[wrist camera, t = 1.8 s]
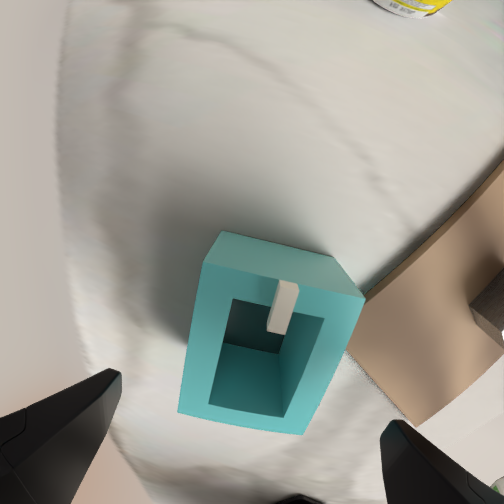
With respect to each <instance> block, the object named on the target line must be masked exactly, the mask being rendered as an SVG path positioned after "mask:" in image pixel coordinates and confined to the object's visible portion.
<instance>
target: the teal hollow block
mask: <svg viewBox="0 0 504 504" xmlns="http://www.w3.org/2000/svg"><path fill="white" fill-rule="evenodd" d="M233 298H234V299H238V300H242V301H247V302H251V303H255V304H260V305H264V306H269V307H271V310H270V313H269V317H268V320H267V331H269V332H273V333H278V334H283V335H285V337H284V340H283V342H282V345H281V348H280V351H279V354H275V353H270V352H265V351H260V350H255V349H250V348H245V347H241V346H236V345H232V344H227V343H223V338H224V334H225V329H226V325H227V321H228V317H229V313H230V308H231V304H232V300H233ZM365 300H366V298H365V297H364V296H363V294H362V293H361V292H360V290H359V289H358V288H357V287H356V285H355V284H354V283H353V281H352V280H351V279H350V277H349V276H348V275H347V273H346V272H345V271H344V270H343V268H342V267H341V266H340V264H339V263H338V262H337V261H336V259H335V258H334V257H330V256H326V255H322V254H318V253H314V252H309V251H305V250H301V249H297V248H293V247H289V246H285V245H281V244H277V243H273V242H269V241H264V240H260V239H256V238H252V237H248V236H244V235H239V234H235V233H231V232H227V231H223V230H222V231H221V232H220V234H219V236H218V237H217V239H216V241H215V242H214V244H213V246H212V247H211V249H210V251H209V252H208V254H207V256H206V257H205V259H204V261H203V264H202V269H201V274H200V279H199V284H198V289H197V295H196V300H195V306H194V311H193V317H192V322H191V328H190V334H189V340H188V346H187V352H186V358H185V364H184V371H183V377H182V384H181V390H180V397H179V404H178V411H177V412H178V413H182V414H185V415H189V416H193V417H198V418H202V419H206V420H211V421H215V422H220V423H225V424H230V425H235V426H240V427H246V428H252V429H258V430H265V431H272V432H279V433H287V434H296V435H303V434H304V432H305V430H306V428H307V426H308V424H309V423H310V421H311V419H312V417H313V415H314V413H315V411H316V409H317V407H318V405H319V403H320V402H321V400H322V398H323V396H324V394H325V392H326V389H327V387H328V385H329V383H330V381H331V379H332V377H333V375H334V373H335V371H336V369H337V366H338V364H339V362H340V360H341V358H342V355H343V353H344V351H345V349H346V346H347V344H348V342H349V339H350V337H351V335H352V332H353V330H354V327H355V325H356V323H357V320H358V318H359V315H360V313H361V310H362V307H363V305H364V302H365ZM291 315H292V316H291ZM290 318H291V319H290ZM289 321H290V322H289ZM288 324H289V325H288ZM287 327H288V328H287ZM286 330H287V331H286ZM285 333H286V334H285Z"/></svg>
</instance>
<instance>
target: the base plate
mask: <svg viewBox="0 0 504 504" xmlns="http://www.w3.org/2000/svg"><path fill="white" fill-rule="evenodd" d="M503 267H504V160H503V161H502V162H501V163H500V164H499V166H498V167H497V168H496V169H495V170H494V171H493V172H492V174H491V175H490V176H489V177H488V178H487V179H486V180H485V181H484V182H483V184H482V185H481V186H480V187H479V188H478V189H477V190H476V191H475V192H474V193H473V194H472V195H471V196H470V198H469V199H468V200H467V201H466V202H465V203H464V204H463V205H462V206H461V207H460V208H459V209H458V210H457V211H456V212H455V213H454V214H453V215H452V216H451V217H450V218H449V219H448V220H447V221H446V222H445V223H444V224H443V225H442V226H441V227H440V228H439V229H438V230H437V231H436V232H435V233H434V234H433V235H432V236H430V237H429V238H428V239H427V240H426V241H425V242H424V243H423V244H422V245H421V246H420V247H419V248H418V249H417V250H415V251H414V252H413V253H412V254H411V255H410V256H409V257H408V258H407V259H406V260H404V261H403V262H402V263H401V264H400V265H399V266H398V267H396V268H395V269H394V270H393V271H392V272H391V273H390V274H388V275H387V276H386V277H385V278H384V279H383V280H381V281H380V282H379V283H378V284H377V285H375V286H374V287H373V288H372V289H371V290H369V291H368V292H367V293H366V294H365V295H363V296H364V297H365V298H366V300H365V302H364V305H363V307H362V310H361V313H360V315H359V318H358V320H357V323H356V325H355V327H354V330H353V332H352V335H351V337H350V339H349V342H348V344H347V346H346V350H347V351H348V352H349V353H350V355H351V356H352V357H353V358H354V359H355V360H356V361H357V362H358V363H359V365H360V366H361V367H362V368H363V369H364V370H365V371H366V372H367V374H368V375H369V376H370V377H371V378H372V379H373V380H374V381H375V382H376V384H377V385H378V386H379V387H380V388H381V389H382V390H383V391H384V393H385V394H386V395H387V396H388V397H389V398H390V399H391V400H392V401H393V403H394V404H395V405H396V406H397V407H398V408H399V409H400V410H401V412H402V413H403V414H404V415H405V416H406V417H407V418H408V419H409V421H410V422H411V423H412V424H413V425H414V426H415V427H418V426H419V425H421V424H422V423H423V422H425V421H426V420H428V419H429V418H430V417H432V416H433V415H434V414H436V413H437V412H438V411H440V410H441V409H442V408H444V407H445V406H446V405H448V404H449V403H450V402H451V401H453V400H454V399H455V398H456V397H457V396H459V395H460V394H461V393H462V392H463V391H465V390H466V389H467V388H468V387H469V386H470V385H472V384H473V383H474V382H475V381H476V380H477V379H478V378H479V377H480V376H481V375H483V374H484V373H485V372H486V371H487V370H488V369H489V368H490V367H491V366H492V365H493V364H494V363H495V362H496V361H497V360H498V359H499V358H500V357H501V356H502V355H503V354H504V349H503V348H502V347H501V346H499V345H498V344H497V343H496V342H495V341H494V340H493V339H492V338H491V337H490V336H488V335H487V334H486V333H485V332H484V331H483V330H482V329H480V328H479V327H478V326H477V324H476V322H475V320H474V317H473V315H472V313H471V310H470V308H469V306H468V305H469V304H470V303H471V302H472V301H473V300H474V299H475V298H476V297H477V296H478V295H479V294H480V293H481V292H482V291H483V289H484V288H485V287H486V286H487V285H488V284H489V283H490V282H491V281H492V280H493V279H494V278H495V276H496V275H497V274H498V273H499V272H500V271H501V270H502V269H503Z"/></svg>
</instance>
